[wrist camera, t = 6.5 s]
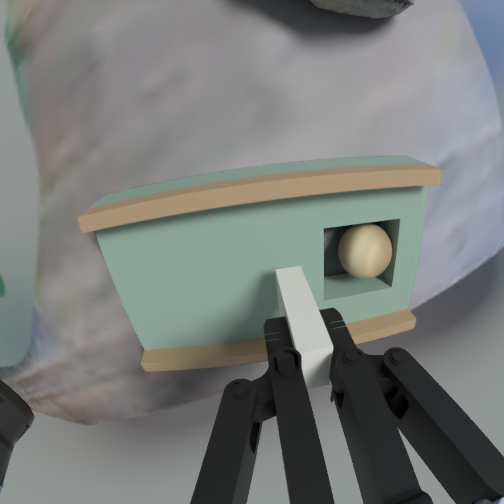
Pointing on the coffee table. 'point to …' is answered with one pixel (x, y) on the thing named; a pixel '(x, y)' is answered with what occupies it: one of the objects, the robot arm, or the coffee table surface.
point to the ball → (365, 250)
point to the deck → (256, 252)
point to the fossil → (365, 7)
